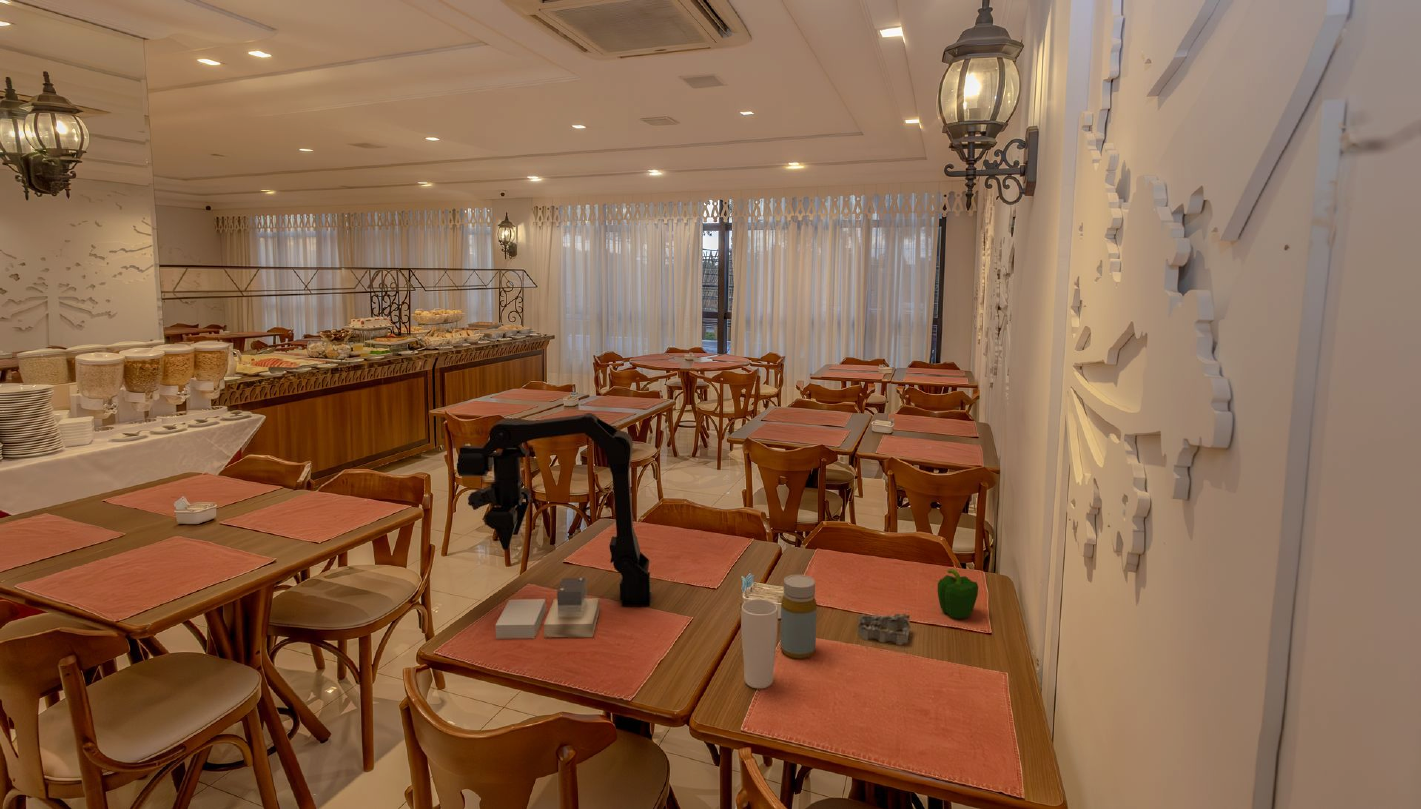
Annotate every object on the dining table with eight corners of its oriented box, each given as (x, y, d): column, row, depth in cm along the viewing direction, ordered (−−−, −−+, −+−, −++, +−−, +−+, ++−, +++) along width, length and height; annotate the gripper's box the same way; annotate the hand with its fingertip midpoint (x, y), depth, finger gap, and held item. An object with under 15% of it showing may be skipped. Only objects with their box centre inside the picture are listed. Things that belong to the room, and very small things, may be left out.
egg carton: (911, 632, 153) (912, 614, 153) (907, 649, 146) (908, 630, 146) (860, 623, 157) (861, 605, 156) (854, 639, 150) (855, 620, 150)
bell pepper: (984, 619, 159) (987, 576, 157) (953, 625, 156) (956, 581, 154) (959, 603, 166) (962, 562, 165) (929, 608, 164) (932, 567, 162)
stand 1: (545, 611, 162) (545, 599, 161) (534, 638, 150) (534, 624, 150) (510, 612, 162) (509, 599, 161) (496, 638, 150) (495, 625, 149)
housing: (586, 603, 159) (585, 576, 158) (581, 618, 152) (581, 590, 151) (563, 603, 159) (562, 576, 158) (558, 618, 152) (557, 590, 151)
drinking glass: (778, 692, 131) (779, 615, 128) (740, 692, 131) (741, 615, 128) (775, 672, 137) (777, 598, 135) (740, 671, 137) (740, 598, 135)
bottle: (818, 645, 147) (820, 576, 145) (811, 662, 141) (813, 590, 138) (784, 640, 149) (786, 571, 147) (776, 656, 143) (778, 585, 140)
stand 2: (599, 610, 162) (599, 598, 162) (592, 637, 151) (592, 623, 150) (554, 611, 162) (554, 599, 162) (544, 637, 150) (543, 624, 150)
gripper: (482, 465, 170) (486, 528, 173) (457, 488, 152) (462, 558, 155) (530, 464, 171) (532, 527, 173) (511, 487, 152) (514, 557, 155)
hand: (510, 541), depth 164 cm, fingers open, 9 cm apart
